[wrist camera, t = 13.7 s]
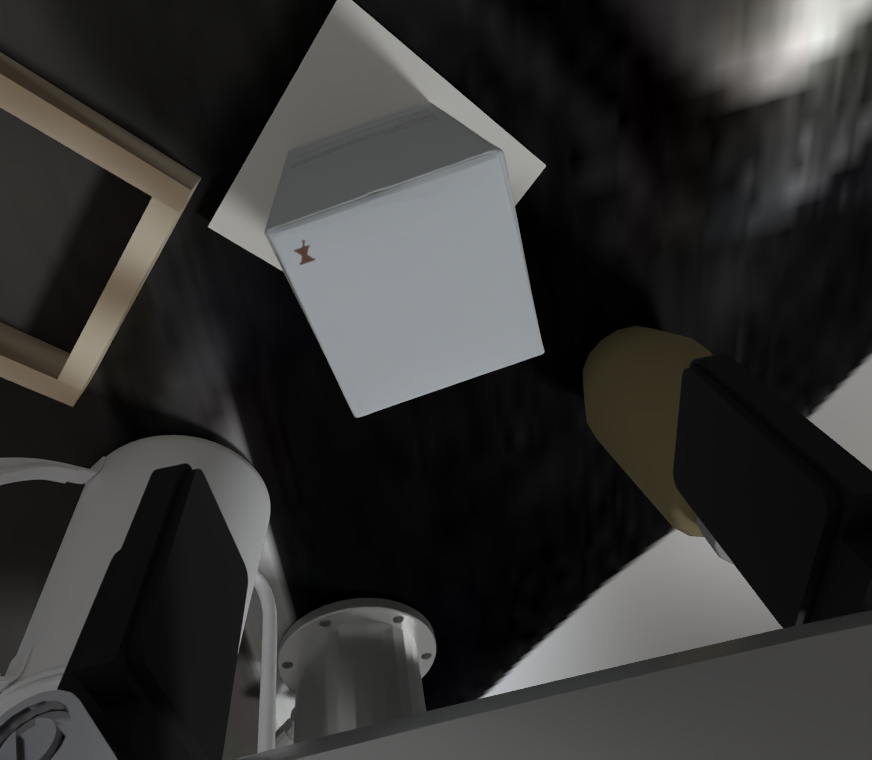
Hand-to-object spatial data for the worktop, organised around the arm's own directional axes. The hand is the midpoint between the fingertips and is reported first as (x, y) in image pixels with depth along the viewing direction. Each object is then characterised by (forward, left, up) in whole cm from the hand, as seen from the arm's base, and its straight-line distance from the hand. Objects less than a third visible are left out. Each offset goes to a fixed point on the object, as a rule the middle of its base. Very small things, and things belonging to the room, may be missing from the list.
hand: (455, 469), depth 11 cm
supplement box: (0, 0, -21) cm, 21 cm away
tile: (0, 0, -22) cm, 22 cm away
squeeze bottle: (0, -19, -22) cm, 29 cm away
